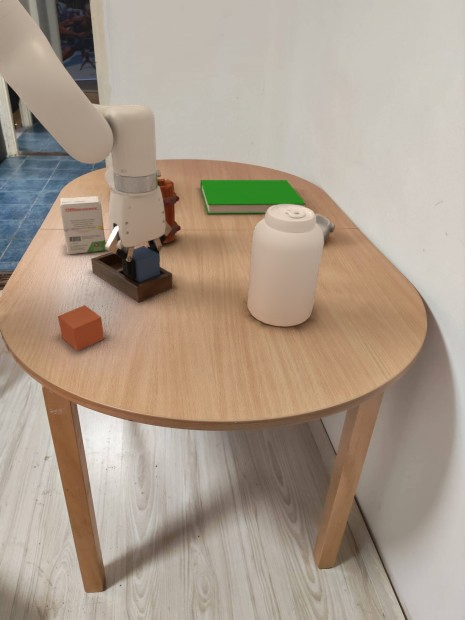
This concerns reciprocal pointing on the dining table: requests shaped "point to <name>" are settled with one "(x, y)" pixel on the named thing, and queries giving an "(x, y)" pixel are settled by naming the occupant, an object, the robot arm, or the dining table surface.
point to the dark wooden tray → (113, 273)
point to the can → (284, 265)
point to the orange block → (81, 327)
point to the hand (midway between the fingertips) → (142, 271)
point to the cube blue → (146, 263)
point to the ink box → (82, 224)
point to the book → (247, 195)
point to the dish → (324, 225)
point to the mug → (169, 206)
